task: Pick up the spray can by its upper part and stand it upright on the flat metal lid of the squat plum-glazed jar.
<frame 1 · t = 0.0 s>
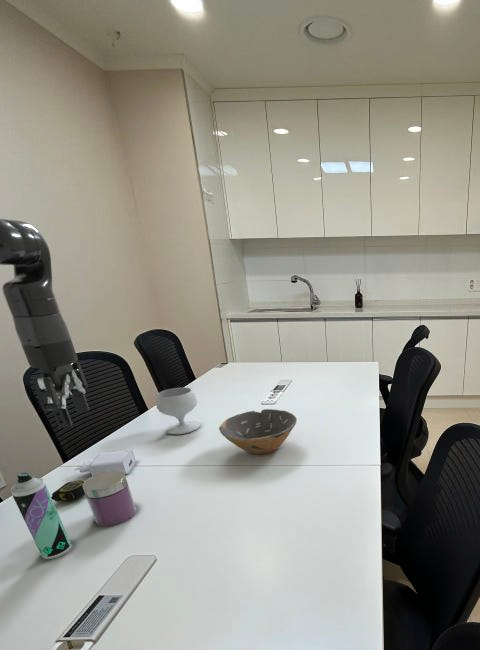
hand: (75, 419, 79), 30 cm above the table, tool pointing down, fingers open, 8 cm apart
chalice: (183, 429, 151), on the table
jar lid: (104, 481, 95), point 10 cm above the table, screwed on, not yet turned
tape measure: (72, 498, 108), on the table
bowl: (263, 449, 133), on the table
jar: (116, 515, 100), on the table
charger: (105, 472, 121), on the table
spray can: (57, 551, 88), on the table
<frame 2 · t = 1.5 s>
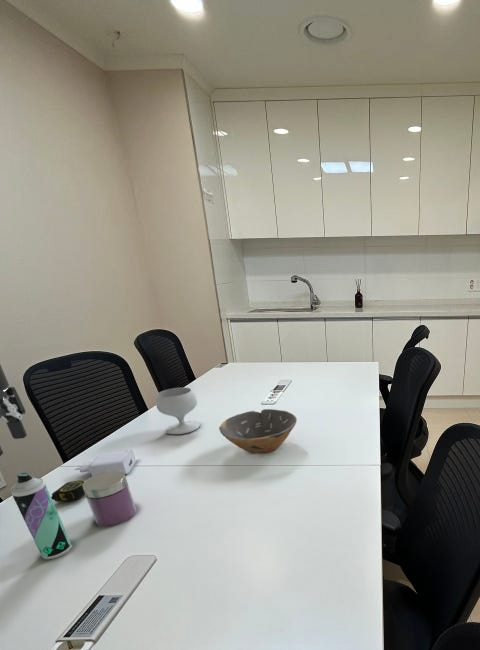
hand: (9, 446, 77), 26 cm above the table, tool pointing down, fingers open, 8 cm apart
nothing on the table moved.
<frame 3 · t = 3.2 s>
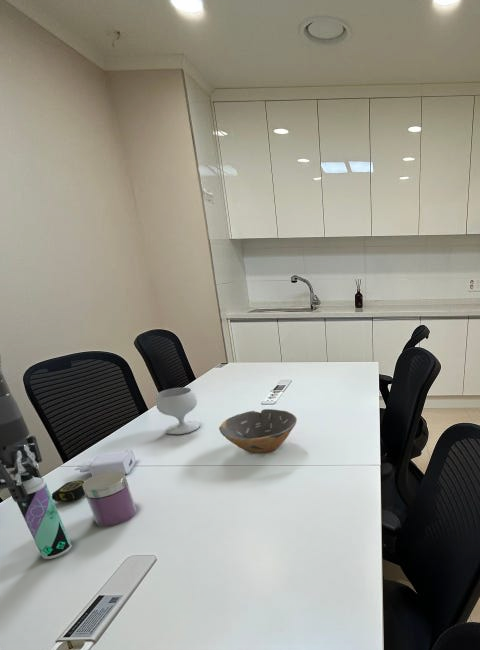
hand: (30, 492, 81), 16 cm above the table, tool pointing down, fingers closed on spray can, 5 cm apart
spray can: (57, 551, 88), on the table, touching gripper
everything else where it was.
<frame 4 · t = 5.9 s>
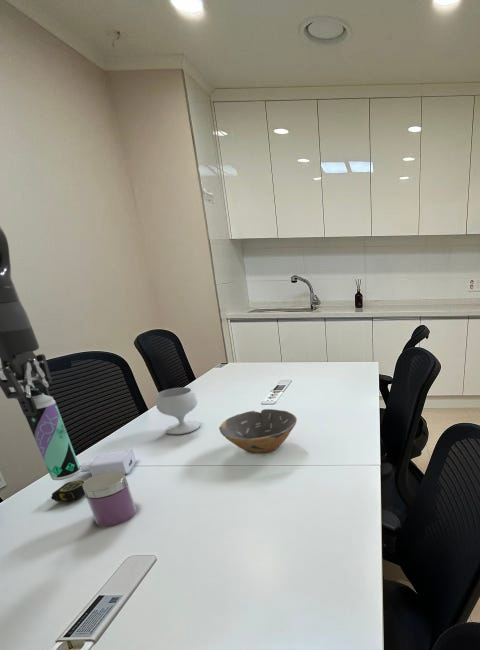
hand: (39, 409, 81), 32 cm above the table, tool pointing down, fingers closed on spray can, 5 cm apart
spray can: (66, 474, 87), point 16 cm above the table, touching gripper
everything else where it was.
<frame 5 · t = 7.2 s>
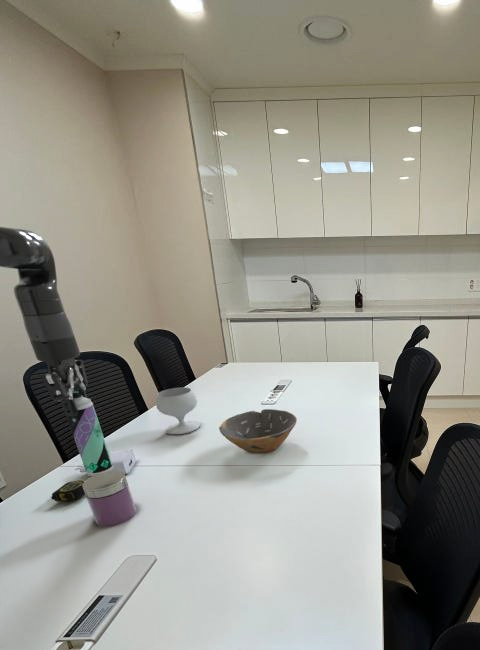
hand: (78, 410, 88), 29 cm above the table, tool pointing down, fingers closed on spray can, 5 cm apart
spray can: (100, 471, 94), point 13 cm above the table, touching gripper
everything else where it was.
when the fingers open (26 cm above the table, at t = 8.6 s): spray can stays where it is, resting on jar lid.
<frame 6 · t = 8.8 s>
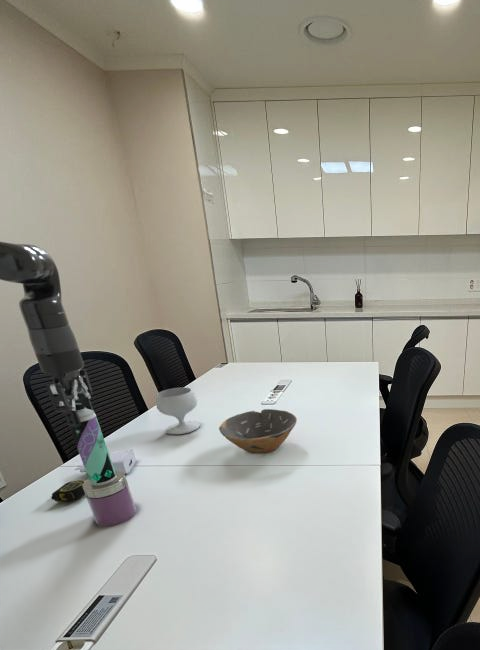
hand: (82, 420, 89), 26 cm above the table, tool pointing down, fingers open, 7 cm apart
jar lid: (104, 481, 95), point 10 cm above the table, screwed on, not yet turned, touching spray can
spray can: (104, 480, 95), point 10 cm above the table, touching jar lid
everything else where it was.
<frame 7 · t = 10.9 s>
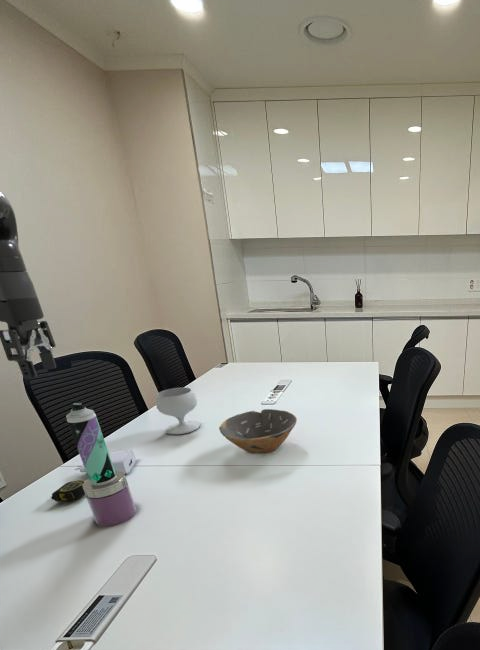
hand: (41, 373, 85), 37 cm above the table, tool pointing down, fingers open, 8 cm apart
nothing on the table moved.
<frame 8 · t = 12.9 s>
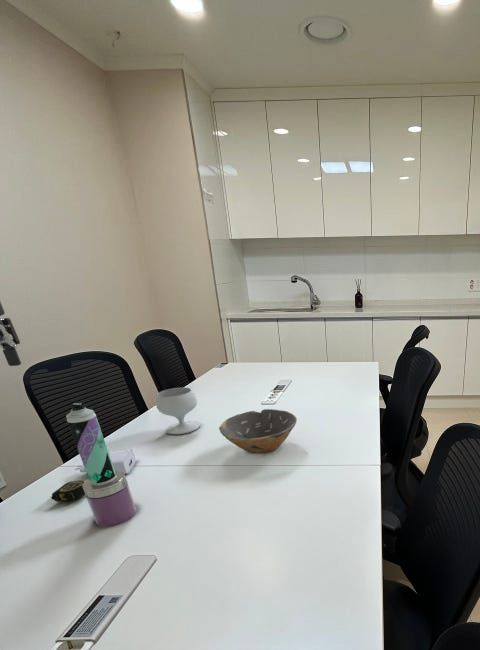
hand: (4, 370, 86), 38 cm above the table, tool pointing down, fingers open, 8 cm apart
nothing on the table moved.
at the end: spray can 0.1 cm off-centre on the jar, point 10.4 cm above the jar's base; spray can tilted 0°; the gripper is holding nothing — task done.
